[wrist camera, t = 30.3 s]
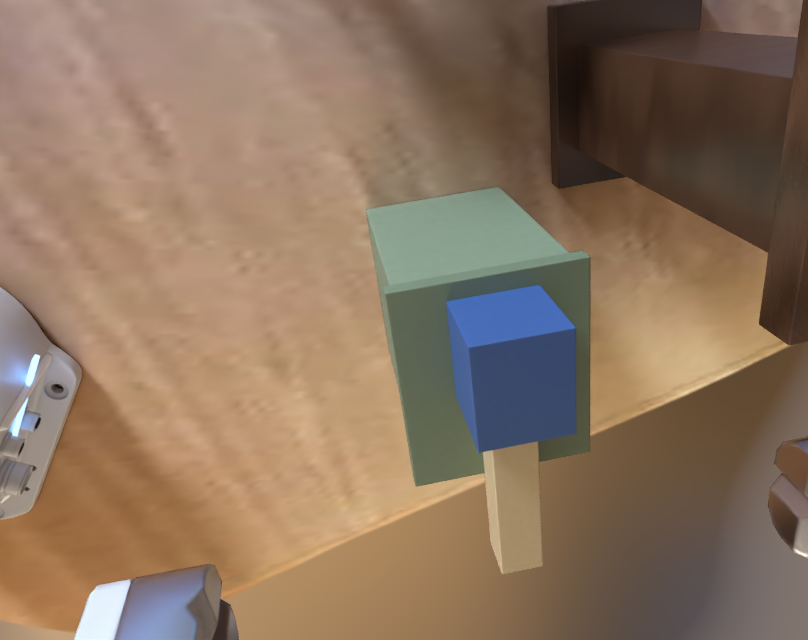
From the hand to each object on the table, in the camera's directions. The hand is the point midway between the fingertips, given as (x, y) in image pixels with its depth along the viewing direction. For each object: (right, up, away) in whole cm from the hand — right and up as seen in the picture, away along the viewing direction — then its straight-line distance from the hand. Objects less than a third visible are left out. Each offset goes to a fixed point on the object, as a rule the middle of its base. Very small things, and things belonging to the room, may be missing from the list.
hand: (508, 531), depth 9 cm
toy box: (+1, +7, +41) cm, 41 cm away
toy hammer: (+4, -3, +28) cm, 29 cm away
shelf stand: (+14, +19, +36) cm, 43 cm away
